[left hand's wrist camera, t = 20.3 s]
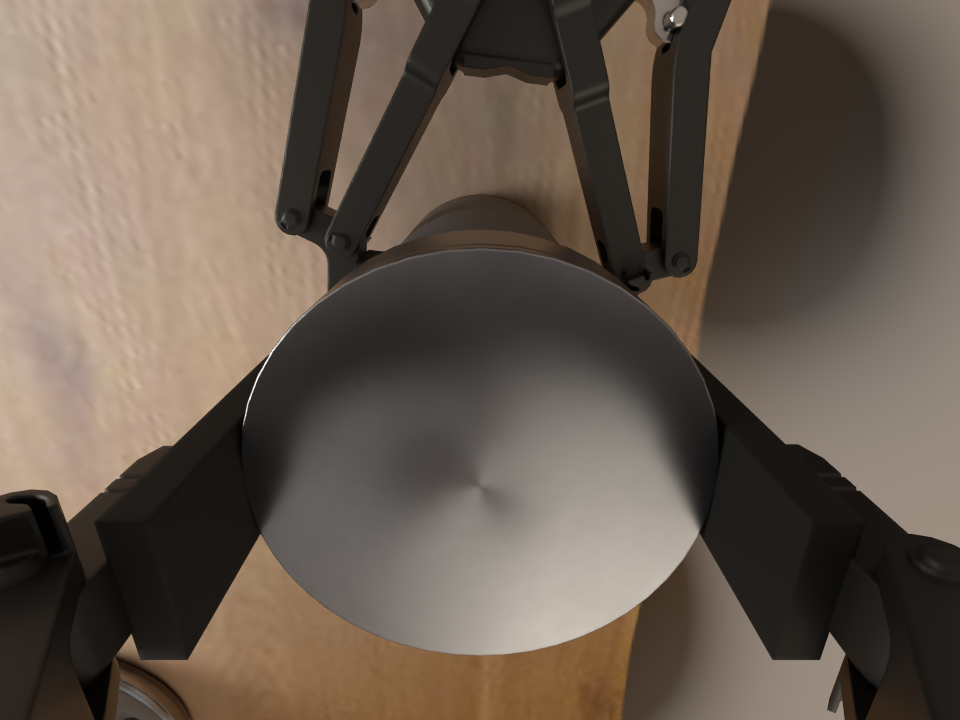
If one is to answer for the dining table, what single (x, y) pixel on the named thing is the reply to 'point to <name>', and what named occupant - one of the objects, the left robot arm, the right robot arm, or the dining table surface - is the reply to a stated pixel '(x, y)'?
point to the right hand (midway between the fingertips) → (468, 412)
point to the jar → (480, 218)
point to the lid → (480, 446)
